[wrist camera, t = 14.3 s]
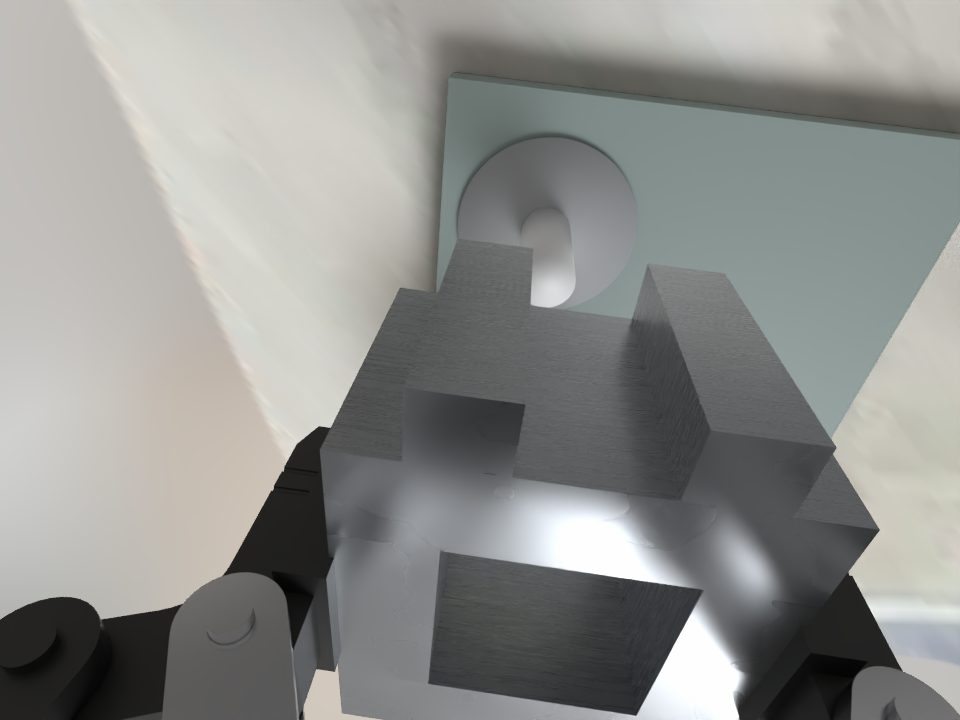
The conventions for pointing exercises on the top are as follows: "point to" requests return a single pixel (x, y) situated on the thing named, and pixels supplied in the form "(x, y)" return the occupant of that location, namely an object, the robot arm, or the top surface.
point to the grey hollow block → (576, 504)
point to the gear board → (706, 211)
